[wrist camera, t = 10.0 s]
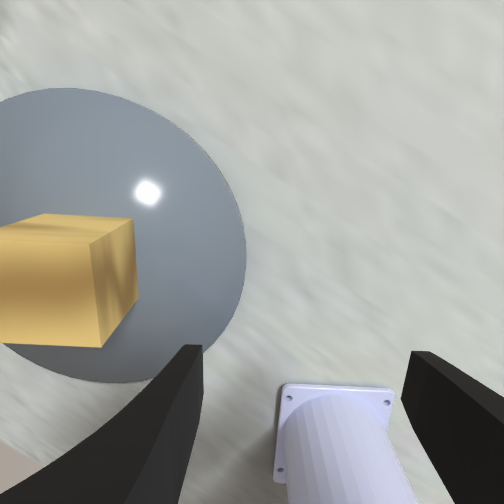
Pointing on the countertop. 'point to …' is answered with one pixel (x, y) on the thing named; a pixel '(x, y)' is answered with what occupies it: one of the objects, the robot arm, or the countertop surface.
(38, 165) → the plate
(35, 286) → the cube
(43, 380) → the countertop surface
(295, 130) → the countertop surface
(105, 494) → the robot arm
